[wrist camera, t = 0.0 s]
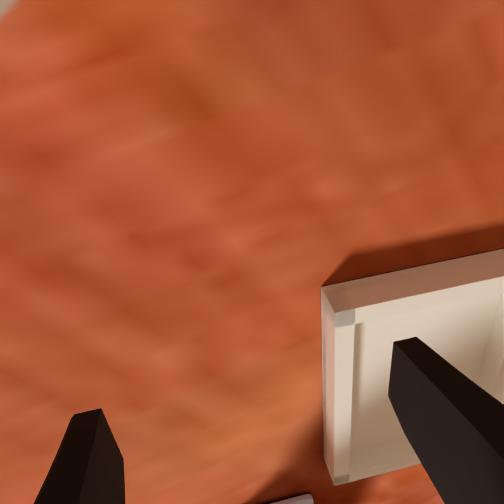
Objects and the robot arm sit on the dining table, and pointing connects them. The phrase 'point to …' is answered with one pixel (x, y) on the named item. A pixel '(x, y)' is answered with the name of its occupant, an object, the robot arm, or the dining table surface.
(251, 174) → the dining table surface
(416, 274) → the tray
